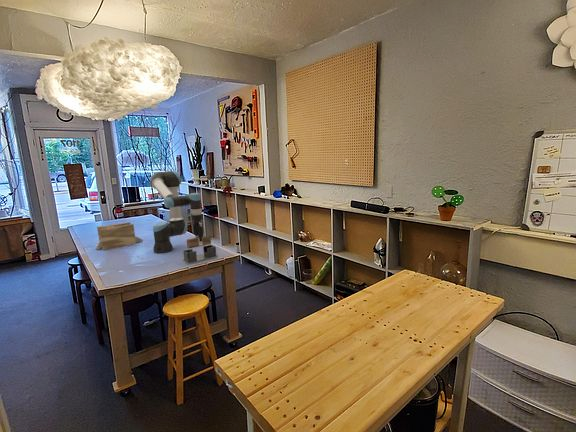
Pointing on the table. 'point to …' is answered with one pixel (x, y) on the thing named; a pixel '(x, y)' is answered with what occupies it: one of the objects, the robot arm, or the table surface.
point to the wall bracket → (101, 243)
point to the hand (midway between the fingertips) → (199, 244)
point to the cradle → (116, 235)
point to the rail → (194, 242)
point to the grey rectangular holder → (193, 258)
